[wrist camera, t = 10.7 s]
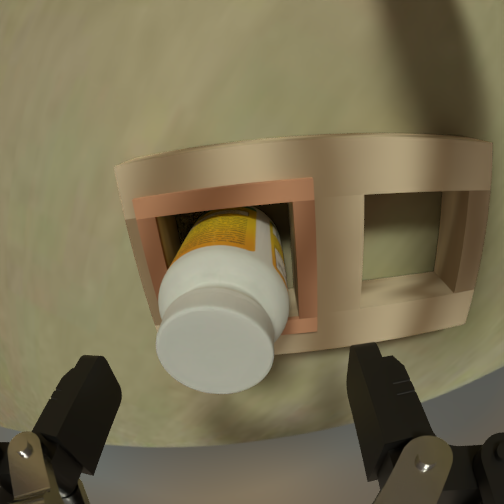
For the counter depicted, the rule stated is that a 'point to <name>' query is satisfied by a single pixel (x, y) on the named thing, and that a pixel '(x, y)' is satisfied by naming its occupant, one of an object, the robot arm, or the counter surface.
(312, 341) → the cup caddy
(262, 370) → the supplement bottle
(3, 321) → the counter surface
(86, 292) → the counter surface
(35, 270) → the counter surface
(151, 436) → the counter surface
